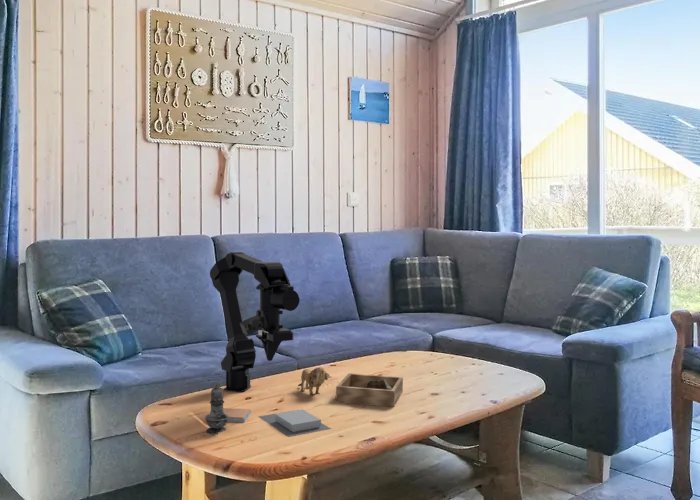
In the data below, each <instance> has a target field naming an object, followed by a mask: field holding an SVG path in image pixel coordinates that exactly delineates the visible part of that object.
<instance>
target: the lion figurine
mask: <svg viewBox="0 0 700 500" xmlns="http://www.w3.org/2000/svg"><path fill="white" fill-rule="evenodd" d="M329 377H330V373H328V372H327V371H326V370H325V367H323V366H318V367H316V368H314V369H312V370H311V369H310V368H305V369H303V370H302V373H301V383H299V384H298V385H297V386H298V387H300V392H301V393H302V392H303V393H304V392H305V388H306V389H309V390H308V391H309V396H310V397H312V396H314V394H315V395H321V393H320V391H319V390H320V387H321V386H322V385H323V384H324V383H325V381H328V380H329ZM304 385H305V386H304ZM304 387H305V388H304ZM314 388H315V393H314V392H313V389H314Z"/></svg>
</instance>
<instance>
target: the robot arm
mask: <svg viewBox="0 0 700 500" xmlns="http://www.w3.org/2000/svg"><path fill="white" fill-rule="evenodd" d="M243 271H244V272H247V273H249V274H252V275H253V278H254V279H255V280H256V281H257V282H259V284H258V285H256V288H255V289H256V290H259V309H257V310H256V311H255V313H256V315H254V316H251V317H249V318H246V319H244V320H243V317H242V312H241V308H240V305H239V304H240V303H239V298H238V297H239V296H238V294H237V293H238V292H237V289H238V286H239V283H240V275H242V273H243ZM209 277H210V279H211V283H212V286H213V288H214V289H215V290H217V292H218V293H219V295H220V299H221V303H222V304H221V305H222V308H223V315H224V319H225V325H226V330H227V334H228V341H227V344H226V347H225V353H226V354H225V356H224V358H223V359H222V360H221V362H220V365H221V370H222V371H225V387H224V388H223V391H226V392H228V391H230V392H239V393H240V392H242V393H243V392H245V391H247V390H248V389H250V388H251V386H252V385H251V373H250V369H254V365H255V361H256V358H257V354H256V348H255V345H254V340H253V339H252V338H249V337H248V336H251V335H253V334H254V333H255V332H257V333H258V334H257V335H255V338H258V340H260V341H261V343H262V347H263V349H264V354H265V358H266V360H267V362H271V361H273V359H274V357H275V354H276V353H277V351H278V348H279V347H280V346H281V343H282V342H286V341H288V342H289V341H293V340H294V332H293V331H292V330H291V329H290V328H287V327H285V328H284V325H283V324H281V315H283V312H284V311H289V312H292V311H295V310H296V309H297V308H298V306H299V305H300V296H299V293H298V292H296V290H295V289H294V285H292V284H291V282H290V279H289V277H288V275H287V273H286V270H285V268H284V266H283V264H282V263H281V262H279V261H278V262H277V261H262V260H260V259H258V258H256V257H252V256H251V255H248V254H246V253H244V252H242V251H234V252H233V251H232V252H229V253H226V255H225V256H224V257H223V258H221V259H219V260H218V261H217V262H215V263H214V265H212V267H211V268H210V271H209ZM283 310H284V311H283Z"/></svg>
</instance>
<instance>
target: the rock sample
mask: <svg viewBox="0 0 700 500" xmlns="http://www.w3.org/2000/svg"><path fill="white" fill-rule="evenodd" d="M366 388H372V389H385V390H392V388H391V387H390V386H389V384H388V383H387V381H386V380H381V381H376V380H374V381H370V382H368V384H367V386H366Z"/></svg>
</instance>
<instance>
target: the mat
mask: <svg viewBox="0 0 700 500" xmlns="http://www.w3.org/2000/svg"><path fill="white" fill-rule="evenodd" d="M295 410H296V409H294V410H293V411H295ZM289 411H290V410H289ZM289 411H287V412H289ZM277 413H278V412H277ZM277 413H271V414H265V415H259V416H258V418H260V419H261V420H262V421H264V422H266V423H267V424H269V425H270V426H272V427H273V428H275V429H277V431H279V432H281V433H282V434H283V435H285V436H286V437H288V438H291V437H296V436H301V435H307V434H310V433H312V434H313V433H317V432H323V431H326V430H327V431H328V430H331V429H332V428H331V427H329V426H328V425H326V424H324V423H322V422H321V427H319V428H314V429H309V430H304V431H298V432H292V431H290V430H289V429H287V428H286V427H284V426H283V425H281V424H279V423H278V422H276V421H275V414H277ZM281 413H283V411H282V412H281Z"/></svg>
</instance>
